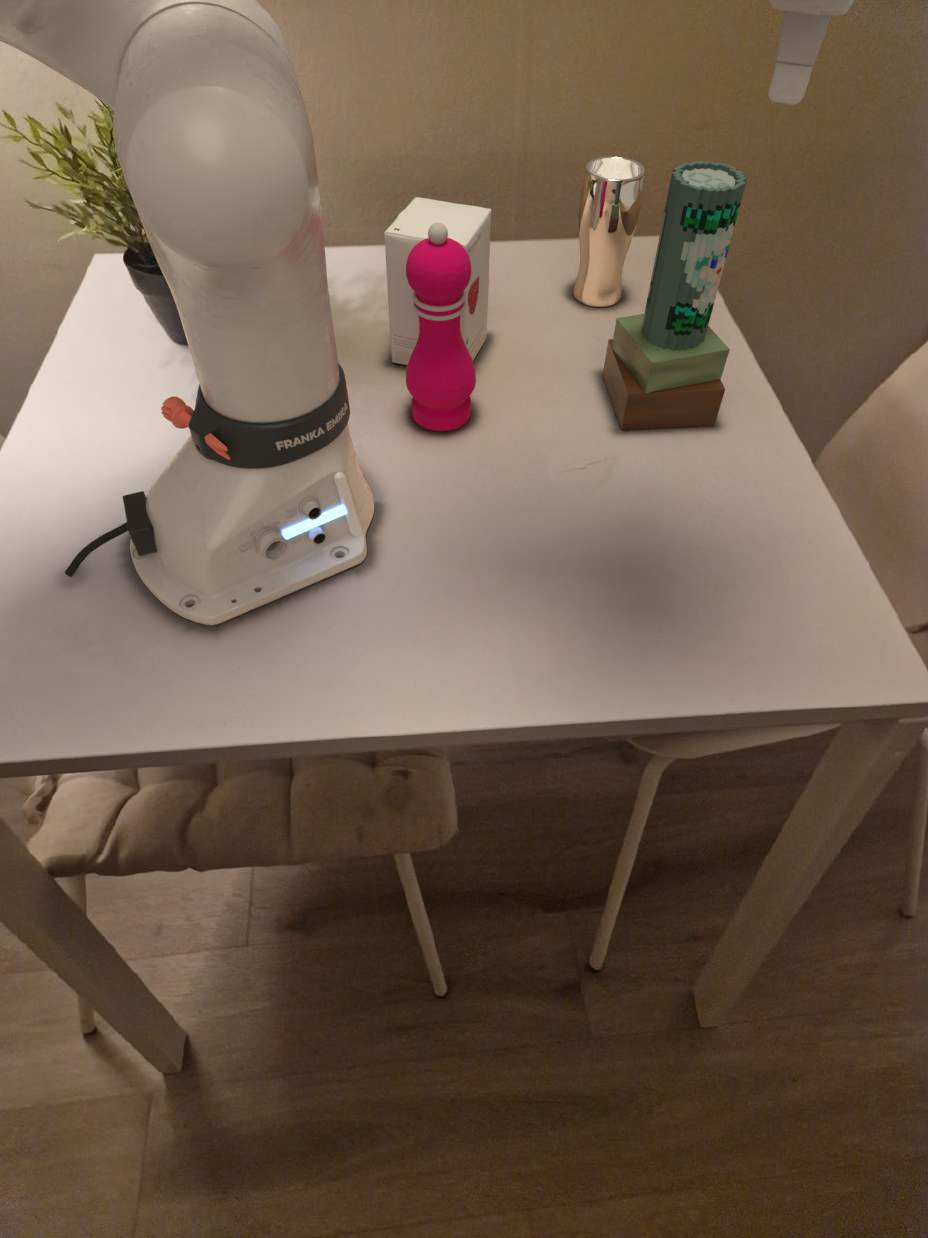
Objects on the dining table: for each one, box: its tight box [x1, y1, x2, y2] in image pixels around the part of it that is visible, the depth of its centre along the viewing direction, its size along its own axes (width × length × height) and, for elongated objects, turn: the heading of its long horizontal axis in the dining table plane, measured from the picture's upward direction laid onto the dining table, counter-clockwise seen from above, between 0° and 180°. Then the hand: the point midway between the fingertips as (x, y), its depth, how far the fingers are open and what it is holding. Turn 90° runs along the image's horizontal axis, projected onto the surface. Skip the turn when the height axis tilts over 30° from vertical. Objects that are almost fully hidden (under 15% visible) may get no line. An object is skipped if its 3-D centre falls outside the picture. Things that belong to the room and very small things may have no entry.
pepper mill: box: [405, 222, 477, 432], centre depth 77 cm, size 7×7×20 cm
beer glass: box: [572, 155, 646, 308], centre depth 95 cm, size 7×7×15 cm
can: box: [641, 160, 748, 351], centre depth 75 cm, size 6×6×15 cm
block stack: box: [602, 313, 731, 431], centre depth 84 cm, size 10×10×8 cm
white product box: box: [383, 196, 492, 366], centre depth 87 cm, size 9×9×15 cm
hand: (795, 70), depth 44 cm, fingers open, 8 cm apart
